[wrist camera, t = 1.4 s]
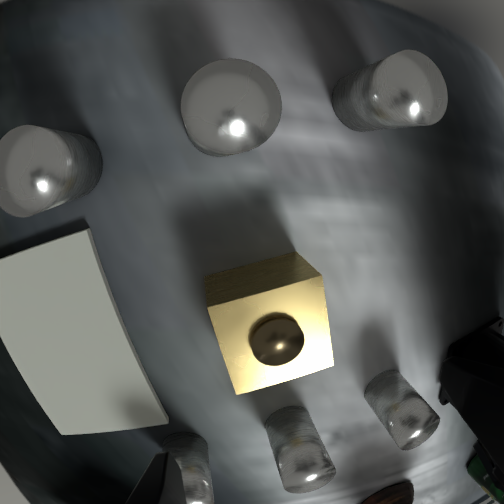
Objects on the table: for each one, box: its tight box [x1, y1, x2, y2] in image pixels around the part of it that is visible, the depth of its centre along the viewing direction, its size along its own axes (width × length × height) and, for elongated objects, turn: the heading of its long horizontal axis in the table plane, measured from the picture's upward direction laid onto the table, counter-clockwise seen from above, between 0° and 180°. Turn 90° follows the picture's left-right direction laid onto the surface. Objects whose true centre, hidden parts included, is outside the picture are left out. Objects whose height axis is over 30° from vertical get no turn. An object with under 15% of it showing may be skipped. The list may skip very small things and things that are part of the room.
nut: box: [204, 252, 334, 395], centre depth 15 cm, size 5×5×4 cm
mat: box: [0, 228, 169, 435], centre depth 15 cm, size 8×12×1 cm, turn 12°
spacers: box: [0, 50, 448, 504], centre depth 14 cm, size 17×21×5 cm
